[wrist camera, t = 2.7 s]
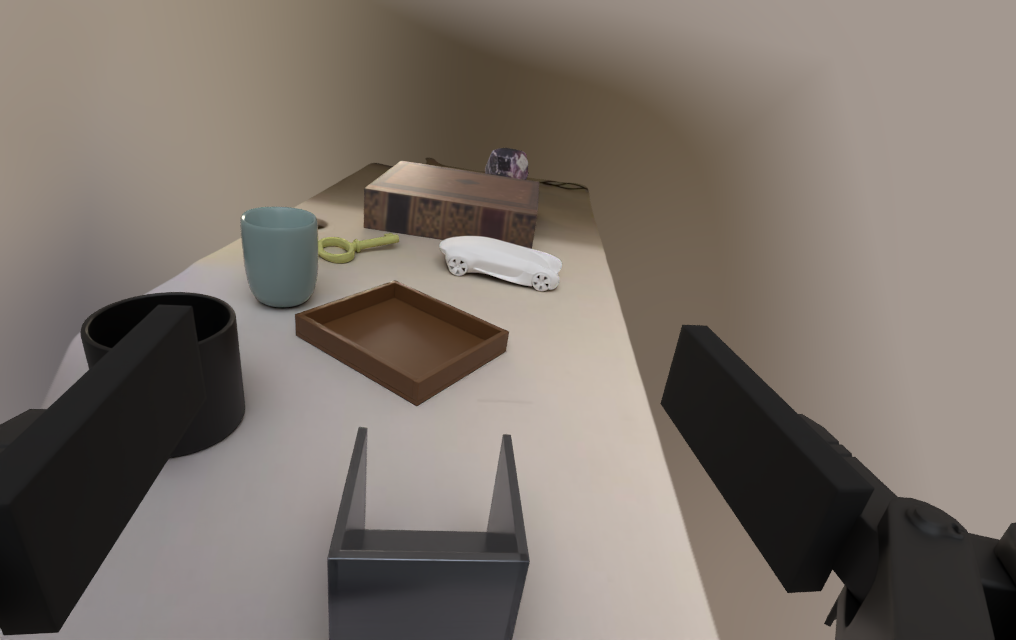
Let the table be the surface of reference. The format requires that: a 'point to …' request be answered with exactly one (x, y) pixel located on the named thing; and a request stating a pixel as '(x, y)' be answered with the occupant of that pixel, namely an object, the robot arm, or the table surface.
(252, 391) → the table surface
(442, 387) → the tray
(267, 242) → the cup
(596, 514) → the table surface
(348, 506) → the grey open-sided box
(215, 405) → the mug
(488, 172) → the mineral specimen
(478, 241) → the toy car
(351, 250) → the key
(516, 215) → the book
